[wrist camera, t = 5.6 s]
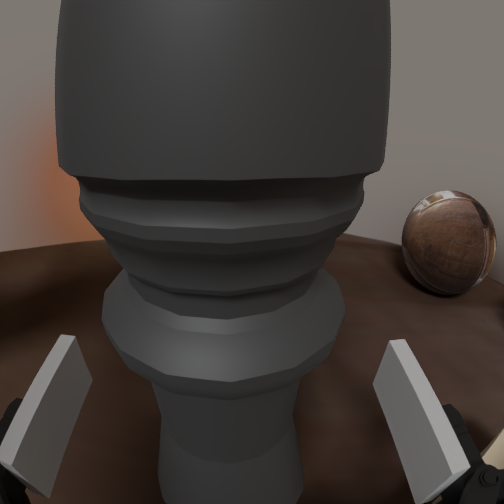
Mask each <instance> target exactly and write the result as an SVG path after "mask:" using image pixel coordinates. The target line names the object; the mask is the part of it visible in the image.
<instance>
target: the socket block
mask: <svg viewBox="0 0 504 504" xmlns="http://www.w3.org/2000/svg"><path fill="white" fill-rule="evenodd" d="M480 455H481V457H482V459H483V461H484V462H485V463H486V464H489V465H492V466H494V467H496V468H497V469H504V428H503V429H502V430H501V431H500V432H499V433H498V435H497V436H496V437H495V438H494V439H493V440H492V441H491V442H490V444H489V445H488V446H487V447H486V448H485V449H484V450H483V451H482V452H481V453H480ZM441 499H442V497H441V495H440V496H439V497H438V498H437V499H436V500H435V501H434V502H433V503H432V504H436V503H437V502H439V501H440V500H441Z"/></svg>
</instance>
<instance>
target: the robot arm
mask: <svg viewBox="0 0 504 504" xmlns="http://www.w3.org/2000/svg"><path fill="white" fill-rule="evenodd" d="M92 381H93V379H92V377H91V375H90V372H89V370H88V368H87V365H86V363H85V360H84V358H83V355H82V353H81V350H80V347H79V345H78V342H77V339H76V337H75V336H69V335H62V334H61V335H60V337H59V339H58V340H57V342H56V343H55V345H54V347H53V348H52V350H51V352H50V353H49V355H48V357H47V358H46V360H45V362H44V363H43V365H42V367H41V368H40V370H39V372H38V374H37V375H36V377H35V379H34V381H33V383H32V384H31V386H30V388H29V390H28V392H27V393H26V395H25V397H24V399H19V398H16V399H15V400H14V401H13V402H12V403H11V404H10V405H9V406H8V407H7V409H6V411H5V413H4V415H3V416H4V417H3V418H2V419H1V421H0V504H31V503H30V501H29V498H28V496H27V494H26V493H25V489H26V487H27V488H28V489H29V490H30V491H32V492H33V493H35V494H37V495H40V496H42V497H45V498H47V499H50V496H51V492H52V489H53V486H54V483H55V479H56V476H57V473H58V470H59V467H60V464H61V461H62V458H63V456H64V453H65V450H66V447H67V444H68V442H69V439H70V436H71V433H72V431H73V428H74V425H75V423H76V420H77V418H78V415H79V413H80V410H81V408H82V405H83V403H84V400H85V398H86V395H87V393H88V390H89V388H90V386H91V383H92ZM373 387H374V389H375V392H376V394H377V397H378V399H379V402H380V405H381V407H382V410H383V413H384V415H385V418H386V420H387V423H388V426H389V429H390V431H391V434H392V437H393V440H394V442H395V445H396V448H397V451H398V454H399V457H400V459H401V462H402V465H403V468H404V471H405V474H406V477H407V480H408V483H409V486H410V489H411V492H412V495H413V499H414V502H415V504H423V503H426V502H428V501H431V500H433V499H435V498H436V497H437V496H438V495H439V494H441V497H442V499H441V500H440V501H439V502H437V503H436V504H504V469H497V468H496V467H494V466H492V465H489V464H486V463H485V462H484V461H483V459H482V457H481V455H480V453H479V451H478V449H477V446H476V444H475V442H474V440H473V438H472V436H471V434H470V432H468V428H467V427H466V425H465V424H464V421H463V419H462V417H461V415H460V413H459V412H458V411H457V410H456V409H455V408H454V407H453V406H452V405H451V404H447V405H443V406H441V404H440V402H439V400H438V399H437V397H436V395H435V393H434V391H433V389H432V387H431V385H430V383H429V382H428V380H427V378H426V376H425V374H424V372H423V371H422V369H421V367H420V365H419V364H418V362H417V360H416V358H415V356H414V355H413V353H412V351H411V349H410V348H409V346H408V344H407V343H406V341H405V339H401V340H391V341H389V343H388V345H387V348H386V351H385V354H384V356H383V359H382V362H381V364H380V367H379V369H378V372H377V374H376V377H375V379H374V382H373Z"/></svg>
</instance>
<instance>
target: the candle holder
mask: <svg viewBox="0 0 504 504" xmlns="http://www.w3.org/2000/svg"><path fill="white" fill-rule="evenodd" d="M390 22H391V21H390V0H62V1H61V8H60V15H59V24H58V36H57V48H56V67H55V68H56V69H55V115H56V116H55V117H56V136H57V151H58V162H59V167H61V168H62V169H63V170H64V171H65V172H66V173H67V174H69V175H71V176H73V177H76V179H77V180H78V181H79V186H80V197H79V203H80V209H81V211H82V212H83V214H84V215H85V217H86V218H87V219H88V220H89V222H90V223H91V224H92V225H93V226H94V227H95V229H96V230H97V231H98V232H99V233H100V234H101V235H102V236H103V237H104V238H105V239H106V241H107V243H108V246H109V250H110V253H111V254H112V256H113V257H114V258H115V259H116V260H117V262H118V263H119V264H120V265H121V266H122V267H123V270H122V271H121V272H120V273H119V274H118V276H117V277H116V278H115V279H114V280H113V282H112V283H111V284H110V285H109V287H108V288H107V289H106V291H105V293H104V301H103V309H102V318H101V320H102V323H103V327H104V330H105V332H106V334H107V336H108V337H109V339H110V341H111V342H112V344H113V345H114V347H115V349H116V350H117V352H118V354H119V355H120V357H121V358H122V360H123V361H124V363H125V364H126V366H127V367H128V368H129V369H130V370H131V371H133V372H135V373H136V374H138V375H140V376H142V377H143V378H145V379H147V380H149V381H150V382H151V383H152V387H153V390H154V393H155V397H156V400H157V404H158V407H159V410H160V413H161V416H162V418H161V431H160V445H159V460H158V474H157V475H158V479H159V484H160V489H161V493H162V498H163V499H164V501H165V502H166V504H296V503H297V501H298V499H299V497H300V495H301V493H302V491H303V489H304V480H303V462H302V457H301V453H300V448H299V443H298V438H297V433H296V427H295V422H294V417H293V411H294V407H295V402H296V397H297V392H298V387H299V382H300V378H302V377H303V376H304V375H306V374H307V373H308V372H310V371H311V370H312V369H314V368H315V367H316V366H318V365H319V364H320V363H322V362H323V361H324V360H325V359H326V358H327V357H328V356H329V354H330V352H331V350H332V347H333V345H334V342H335V340H336V338H337V335H338V333H339V330H340V328H341V325H342V323H343V320H344V316H345V312H346V306H345V303H344V300H343V297H342V293H341V290H340V287H339V284H338V282H337V281H336V280H335V279H334V278H333V277H332V276H331V275H330V274H329V273H328V272H327V271H326V270H325V269H324V268H323V267H322V265H323V264H324V262H325V260H326V259H327V257H328V255H329V254H330V252H331V251H332V249H333V247H334V245H335V240H336V238H337V237H339V236H340V235H341V234H342V233H343V232H344V231H345V230H347V228H348V227H349V225H350V224H351V223H352V221H353V220H354V218H355V217H356V215H357V213H358V211H359V209H360V207H361V206H362V204H363V199H364V190H363V181H364V178H365V177H366V176H367V175H369V174H372V173H374V172H377V171H379V170H380V168H381V166H382V164H383V162H384V157H385V147H386V146H385V145H386V137H387V124H388V112H389V111H388V110H389V95H390V69H391V23H390Z"/></svg>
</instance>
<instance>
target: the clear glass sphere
mask: <svg viewBox="0 0 504 504" xmlns="http://www.w3.org/2000/svg"><path fill="white" fill-rule="evenodd" d="M402 252H403V257H404V260H405V263H406V265H407V267H408V269H409V271H410V273H411V274H412V276H413V277H414V278H415V279H416V280H417V281H418V282H419V283H420V284H421V285H422V286H424V287H425V288H427V289H428V290H430V291H432V292H435V293H438V294H443V295H456V294H460V293H464V292H466V291H468V290H470V289H472V288H474V287H475V286H476V285H478V284H479V283H480V282H481V281H482V280H483V279H484V278H485V276H486V275H487V273H488V272H489V270H490V268H491V266H492V264H493V261H494V258H495V253H496V234H495V229H494V225H493V223H492V220H491V218H490V216H489V214H488V213H487V211H486V210H485V209H484V207H483V206H482V205H481V204H480V203H479V202H478V201H476V200H475V199H474V198H472V197H471V196H469V195H466V194H464V193H461V192H458V191H449V190H448V191H439V192H436V193H433V194H430V195H429V196H427V197H425V198H423V199H422V200H421V201H420V202H418V203H417V204H416V206H415V207H414V208H413V209H412V211H411V212H410V214H409V215H408V217H407V219H406V222H405V225H404V228H403V234H402Z"/></svg>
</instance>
